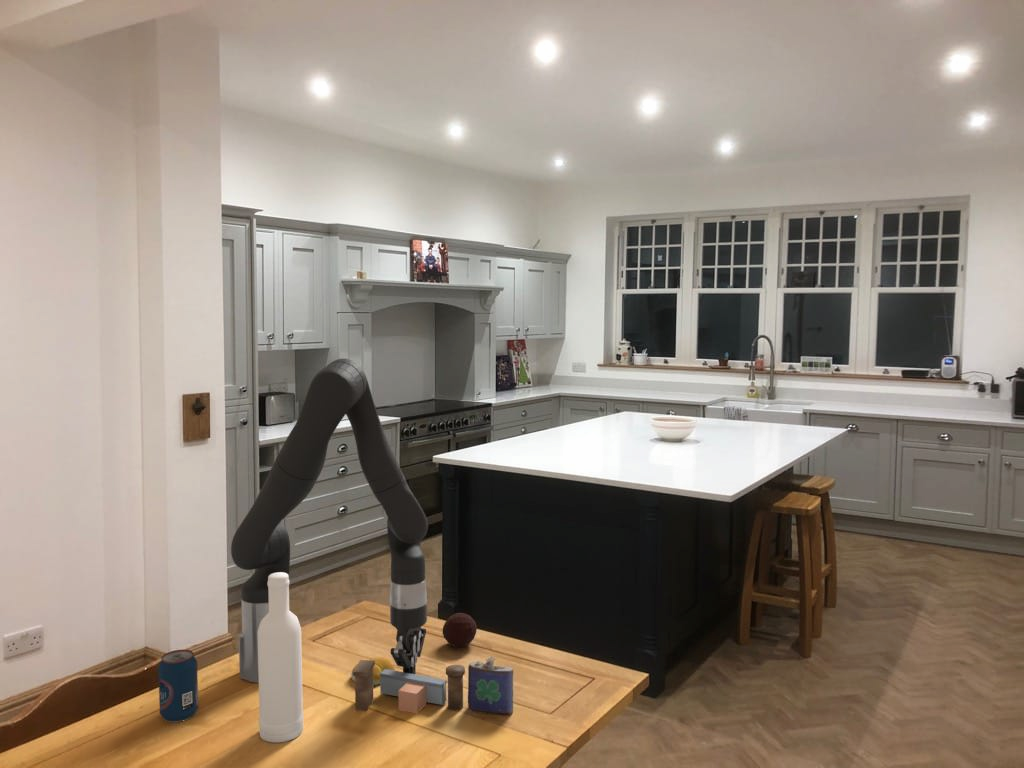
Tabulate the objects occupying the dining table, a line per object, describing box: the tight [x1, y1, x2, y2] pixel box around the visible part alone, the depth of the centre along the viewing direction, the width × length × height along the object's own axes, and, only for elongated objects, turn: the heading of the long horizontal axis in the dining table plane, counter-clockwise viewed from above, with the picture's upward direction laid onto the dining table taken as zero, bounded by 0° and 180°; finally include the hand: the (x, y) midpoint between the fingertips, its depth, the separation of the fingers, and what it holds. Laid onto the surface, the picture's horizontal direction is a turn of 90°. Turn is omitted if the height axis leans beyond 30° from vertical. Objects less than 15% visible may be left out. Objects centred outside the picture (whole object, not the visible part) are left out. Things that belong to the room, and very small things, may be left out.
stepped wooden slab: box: [353, 659, 375, 711], centre depth 161 cm, size 3×6×8 cm, turn 176°
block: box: [398, 682, 427, 714], centre depth 160 cm, size 4×4×4 cm
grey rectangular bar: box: [379, 669, 447, 706], centre depth 164 cm, size 14×2×4 cm, turn 69°
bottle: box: [258, 572, 304, 743], centre depth 149 cm, size 8×8×30 cm
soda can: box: [158, 649, 199, 723], centre depth 156 cm, size 7×7×12 cm
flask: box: [467, 656, 514, 716], centre depth 158 cm, size 9×3×11 cm, turn 74°
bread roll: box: [350, 657, 396, 687], centre depth 174 cm, size 8×9×4 cm
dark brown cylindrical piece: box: [445, 664, 466, 712], centre depth 160 cm, size 4×4×8 cm
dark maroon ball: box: [442, 612, 478, 648], centre depth 190 cm, size 8×9×8 cm
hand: (409, 681), depth 168 cm, fingers closed
